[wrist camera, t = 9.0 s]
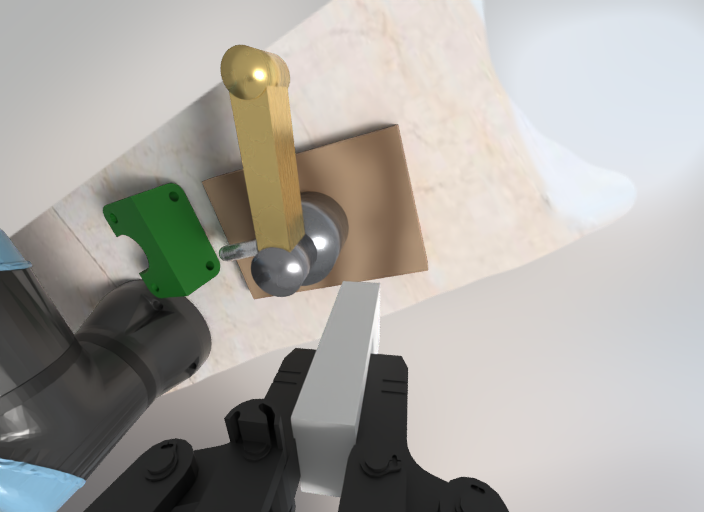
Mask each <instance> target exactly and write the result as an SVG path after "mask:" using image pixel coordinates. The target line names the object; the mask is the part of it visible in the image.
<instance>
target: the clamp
mask: <svg viewBox="0 0 704 512" xmlns="http://www.w3.org/2000/svg"><path fill="white" fill-rule="evenodd" d="M103 213H104V216H105V218H106V220H107V222H108V224H109V225H110V227H111V228H112V230H113V232H114V233H115V235H116V237H118V236H120V235H126V236H129V237H130V238H132V239H133V240H135V241H136V242H137V243H138V244H139V245H140V246H141V248H142V249H143V251H144V252H145V254H146V256H147V258H148V262H149V268H148V269H146V270H144V271H142V272H140V273H139V274H140V276H141V278H142V279H143V281H144V283H145V284H146V286H147V287H148V289H149V290H150V292H151V293H152V294H153V295H155V296H156V297H158V298H169V297H183V296H188V295H190V294H191V293H192V292H194V291H195V290H197V289H198V288H200V287H201V286H202V285H204V284H205V283H207V282H208V281H209V280H211V279H212V278H214V277H215V276H216V275H217V274H218V273H219V271H220V262H219V260H218V258H217V256H216V254H215V252H214V250H213V248H212V246H211V244H210V242H209V240H208V238H207V236H206V234H205V232H204V230H203V228H202V226H201V224H200V222H199V220H198V218H197V216H196V214H195V212H194V210H193V208H192V206H191V204H190V202H189V200H188V199H187V197H186V195H185V193H184V191H183V189H182V188H181V187H180V186H178V185H176V184H173V183H168V184H165V185H162V186H159V187H157V188H154V189H151V190H148V191H145V192H142V193H139V194H137V195H134V196H131V197H128V198H125V199H122V200H119V201H116V202H114V203H111V204H108V205H105V206H104V207H103Z"/></svg>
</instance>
